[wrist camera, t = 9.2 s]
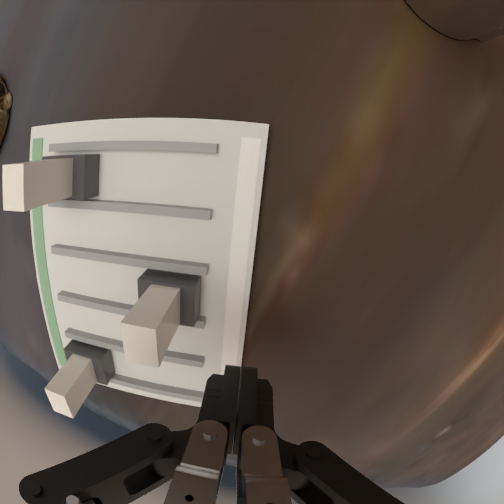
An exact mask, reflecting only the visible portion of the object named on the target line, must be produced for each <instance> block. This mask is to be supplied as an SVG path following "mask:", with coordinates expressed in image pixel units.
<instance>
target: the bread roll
mask: <svg viewBox="0 0 504 504" xmlns="http://www.w3.org/2000/svg"><path fill="white" fill-rule="evenodd" d="M11 106H12V97H11V95H10V92H9V93H8V91H7V88H6V86H5V84H4V82H3V81H2V79H1V77H0V145H1V142H2V139H3V136H4V134H5V131H6V128H7V124H8V119H9V109H10V107H11Z"/></svg>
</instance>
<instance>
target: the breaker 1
mask: <svg viewBox="0 0 504 504" xmlns="http://www.w3.org/2000/svg"><path fill="white" fill-rule="evenodd" d="M99 159H100V154H76V155H55V156H44V157H42V160H37V161H29V162H21V163H14V164H7V165H3V209H4V210H8V211H22V212H25V211H28V210H31V209H34V208H37V207H40V206H43V205H46V204H49V203H53V202H56V201H59V200H63V199H71V200H86V199H89V198H92V197H96V196H98V183H99Z"/></svg>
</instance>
